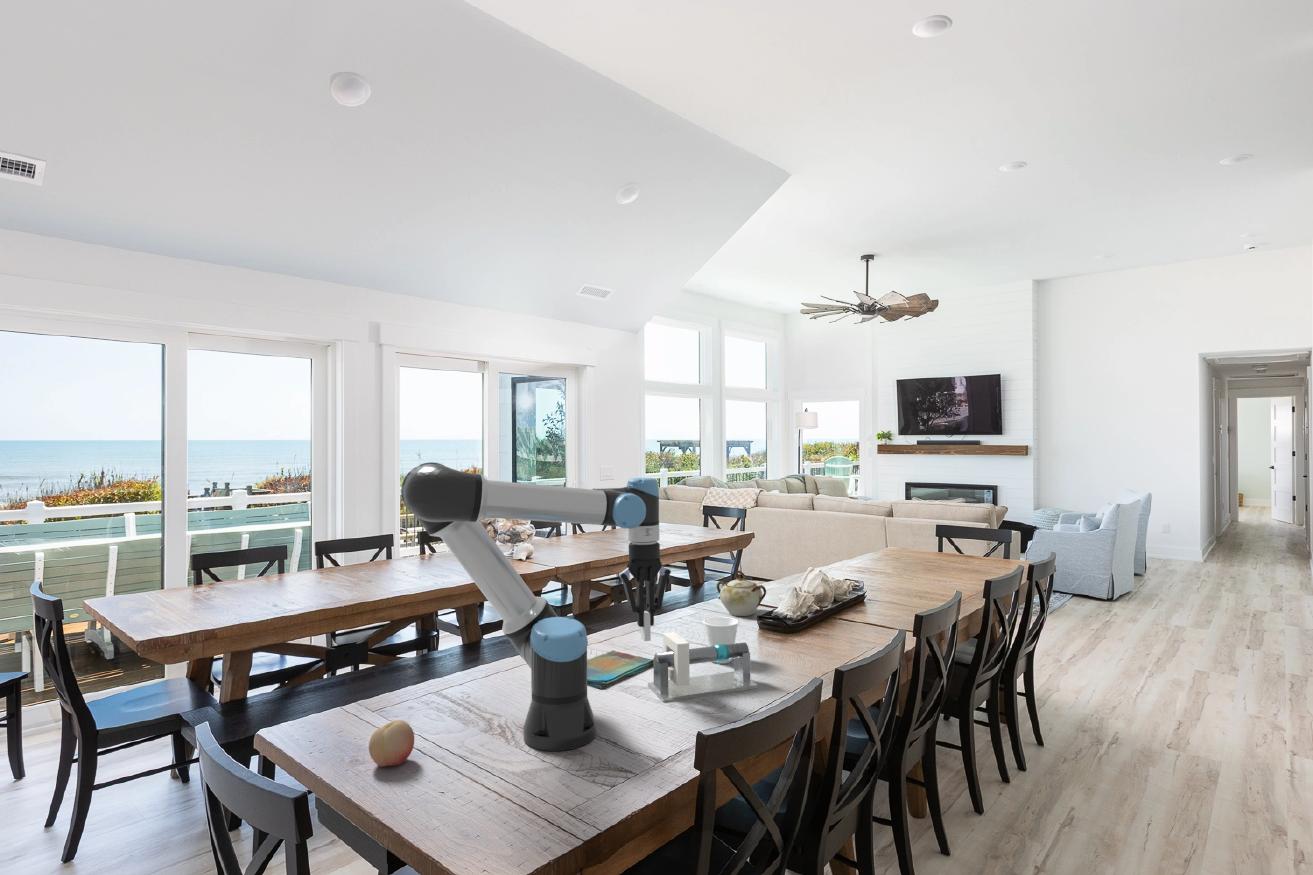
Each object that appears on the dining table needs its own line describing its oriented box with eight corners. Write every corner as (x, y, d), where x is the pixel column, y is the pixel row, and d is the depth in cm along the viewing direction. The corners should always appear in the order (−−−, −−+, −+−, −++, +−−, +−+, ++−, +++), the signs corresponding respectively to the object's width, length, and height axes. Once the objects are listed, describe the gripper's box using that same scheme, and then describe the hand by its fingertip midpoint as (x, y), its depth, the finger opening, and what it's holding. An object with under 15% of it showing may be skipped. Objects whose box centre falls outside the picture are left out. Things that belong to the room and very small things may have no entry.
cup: (737, 667, 189) (737, 626, 189) (701, 665, 191) (700, 625, 191) (740, 655, 199) (740, 617, 198) (705, 654, 201) (705, 615, 200)
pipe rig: (662, 701, 165) (662, 659, 165) (647, 686, 175) (647, 646, 175) (757, 688, 173) (757, 647, 173) (738, 673, 184) (737, 635, 184)
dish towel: (552, 678, 184) (552, 668, 184) (610, 655, 202) (610, 646, 202) (601, 692, 173) (601, 681, 173) (658, 666, 192) (658, 657, 192)
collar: (677, 686, 167) (677, 644, 167) (663, 672, 176) (663, 633, 176) (689, 684, 168) (689, 642, 168) (674, 671, 177) (674, 632, 177)
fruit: (382, 753, 140) (382, 713, 140) (421, 755, 139) (420, 714, 139) (361, 773, 132) (361, 730, 132) (402, 774, 131) (401, 731, 131)
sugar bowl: (705, 613, 246) (705, 571, 245) (728, 605, 257) (727, 564, 257) (755, 622, 234) (755, 577, 234) (776, 613, 246) (775, 570, 245)
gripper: (622, 546, 163) (624, 647, 164) (674, 542, 168) (676, 640, 168) (613, 541, 171) (615, 638, 171) (664, 538, 175) (665, 632, 175)
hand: (645, 639), depth 169 cm, fingers closed
